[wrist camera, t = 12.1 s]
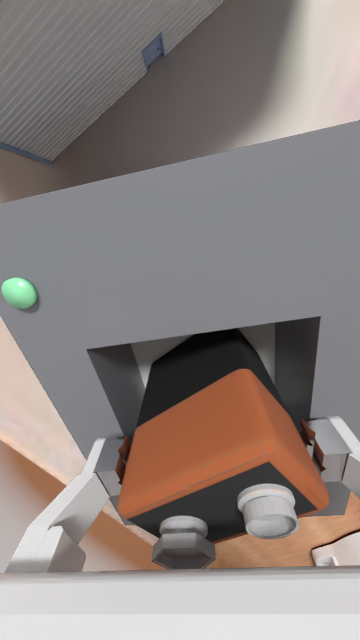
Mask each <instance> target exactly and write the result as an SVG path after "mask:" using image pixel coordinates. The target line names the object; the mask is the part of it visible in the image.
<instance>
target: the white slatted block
mask: <svg viewBox="0 0 360 640" xmlns="http://www.w3.org/2000/svg"><path fill="white" fill-rule="evenodd" d="M224 1H225V0H0V148H1V149H4V150H7V151H10V152H13V153H16V154H18V155H21V156H24V157H27V158H30V159H33V160H35V161H38V162H41V163H44V164H47V165H51V163H52V162H51V161H52V160H54V159H55V158H56V157H57V156H58V155H59V154H60V153H61V152H62V151H63V150H64V149H65V148H66V147H68V146H69V145H70V144H71V143H72V142H73V141H74V140H75V139H76V138H77V137H78V136H79V135H80V134H82V133H83V132H84V131H85V130H86V129H87V128H88V127H89V126H90V125H91V124H92V123H93V122H94V121H96V120H97V119H98V118H99V117H100V116H101V115H102V114H103V113H104V112H105V111H106V110H107V109H108V108H110V107H111V106H112V105H113V104H114V103H115V102H116V101H117V100H118V99H119V98H120V97H121V96H122V95H124V94H125V93H126V92H127V91H128V90H129V89H130V88H131V87H132V86H133V85H134V84H135V83H136V82H138V81H139V80H140V79H141V78H142V77H143V76H144V75H145V74H146V73H149V71H148V67H147V66H148V65H149V64H150V63H152V62H153V61H154V60H155V59H156V58H157V57H158V56H159V55H160V54H161V53H162V54H163V56H164V58H165V57H166V55H167V54H168V53H169V52H170V51H171V50H172V49H173V48H174V47H175V46H176V45H177V44H178V43H180V42H181V41H182V40H183V39H184V38H185V37H186V36H187V35H188V34H189V33H190V32H191V31H192V30H194V29H195V28H196V27H197V26H198V25H199V24H200V23H201V22H202V21H203V20H204V19H205V18H206V17H208V16H209V15H210V14H211V13H212V12H213V11H214V10H215V9H216V8H217V7H218V6H219V5H220V4H222V3H223V2H224Z"/></svg>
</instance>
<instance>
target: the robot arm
mask: <svg viewBox="0 0 360 640" xmlns="http://www.w3.org/2000/svg"><path fill="white" fill-rule="evenodd" d="M301 427H302V428H303V429H302V430H301V431H300V437H301V439H302V441H303V443H304V445H305V447H306V449H307V451H308V453H309V455H310V457H311V459H312V461H313V463H314V465H315V467H316V469H317V470H318V472H319V474H320V476H321V478H322V480H323V482H335V481H342V483H343V484H344V485H345V486H346V487H347V488H349V489H350V490H351V491H352V492H353V493H354V494H355V495H356V496H357V497H359V498H360V442H359V440H358V439H357V438H356V437H355V435H354V434H353V433H352V431H351V430H350V429H349V427H348V426H347V425H346V423H345V422H344V421H343V420H342V418H341V417H339V416H331V417H318V418H309V419H302V420H301ZM129 443H130V439H129V437H128V436H122V437H109V438H98V439H97V440H96V441H95V442H94V445H93V447H92V450H91V452H90V454H89V457H88V459H87V462H86V464H85V467H84V469H83V471H82V474H78V475H77V476H76V477H75V478H74V479H73V480H72V482H71V483H70V484H69V485H68V486H67V487H66V488H65V489H64V490H63V491H62V492H61V493H60V494H59V495H58V496H57V497H56V498H55V499H54V500H53V502H51V503H50V504H49V505H48V507H47V508H46V509H45V510H44V511H43V512H42V513H41V514H40V515H39V516H38V517H37V518H36V519H35V520H34V521H33V522H32V523H31V524H30V525H29V526H28V528H27V530H26V532H25V534H24V536H23V538H22V540H21V542H20V544H19V546H18V548H17V549H16V551H15V553H14V555H13V557H12V559H11V561H10V563H9V565H8V567H7V569H6V571H5V573H3V574H0V640H360V532H358V533H355V534H352V535H349V536H347V537H345V538H343V539H341V540H339V541H337V542H335V543H333V544H330V545H327V546H323V547H320V548H317V549H314V550H313V551H312V556H313V559H314V562H315V565H316V566H304V567H261V568H217V569H174V570H131V571H89V572H82V569H83V566H84V562H85V559H86V555H85V552H84V551H83V550H82V549H81V548H80V547H79V546H78V543H79V542H80V541H81V539H82V537H83V536H84V534H85V533H86V532H87V530H88V529H89V527H90V526H91V524H92V523H93V521H94V520H95V518H96V517H97V515H98V514H99V512H100V511H101V510H102V508H103V507H104V505H105V504H106V502H107V501H108V499H109V498H110V496H114V495H120V491H121V487H122V483H123V478H124V474H125V470H126V466H127V462H128V458H129V454H130V450H131V445H130V444H129Z"/></svg>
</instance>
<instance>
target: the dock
mask: <svg viewBox="0 0 360 640" xmlns="http://www.w3.org/2000/svg"><path fill="white" fill-rule="evenodd" d="M0 316H1V318H2V319H3V321H4V323H5V324H6V326H7V328H8V330H9V331H10V333H11V335H12V336H13V338H14V340H15V341H16V343H17V345H18V346H19V348H20V350H21V351H22V353H23V355H24V356H25V358H26V360H27V361H28V363H29V365H30V366H31V368H32V370H33V371H34V373H35V375H36V377H37V378H38V380H39V382H40V383H41V385H42V387H43V388H44V390H45V392H46V393H47V395H48V397H49V398H50V400H51V402H52V403H53V405H54V407H55V408H56V410H57V412H58V413H59V415H60V417H61V418H62V420H63V422H64V423H65V425H66V427H67V429H68V430H69V432H70V434H71V435H72V437H73V439H74V440H75V442H76V444H77V445H78V447H79V449H80V450H81V452H82V454H83V455H84V457H85V459H86V460H87V459H88V457H89V454H90V452H91V450H92V447H93V445H94V442H95V441H96V440H97V439H98V438H109V437H122V436H128V437H129V439H130V443H129V444H130V445H131V446H132V442H133V438H134V434H135V429H136V425H137V421H138V417H139V413H140V409H141V405H142V401H143V397H144V393H145V389H146V385H147V381H148V376H149V372H150V368H151V365H152V363H153V362H155V361H156V360H157V359H159V358H160V357H162V356H163V355H165V354H166V353H168V352H169V351H170V350H172V349H173V348H175V347H176V346H178V345H179V344H181V343H182V342H184V341H185V340H186V339H188V338H189V337H191V336H192V335H194V334H198V333H205V332H212V331H219V330H226V329H233V328H238V329H239V330H240V331H241V333H242V334H243V335H244V336H245V338H246V339H247V340H248V341H249V343H250V344H251V345H252V346H253V348H254V349H255V350H256V351H257V353H258V354H259V356H260V358H261V360H262V362H263V364H264V366H265V368H266V370H267V372H268V374H269V376H270V378H271V380H272V382H273V384H274V386H275V387H276V389H277V391H278V393H279V395H280V397H281V399H282V401H283V403H284V405H285V407H286V409H287V411H288V413H289V415H290V417H291V419H292V421H293V423H294V425H295V427H296V429H297V431H298V433H299V435H300V431H301V430H302V429H303V428H302V427H301V420H302V419H309V418H318V417H331V416H339V417H341V418H342V420H343V421H344V422H345V423H346V425H347V426H348V427H349V429H350V430H351V431H352V433H353V434H354V435H355V437H356V438H357V439H358V440H359V442H360V120H359V121H354V122H350V123H346V124H341V125H337V126H333V127H328V128H324V129H320V130H315V131H311V132H307V133H303V134H298V135H294V136H290V137H285V138H281V139H277V140H272V141H268V142H264V143H259V144H255V145H251V146H246V147H242V148H238V149H233V150H229V151H225V152H220V153H216V154H212V155H208V156H203V157H199V158H195V159H190V160H186V161H182V162H177V163H173V164H169V165H164V166H160V167H156V168H151V169H147V170H143V171H138V172H134V173H130V174H125V175H121V176H117V177H113V178H108V179H104V180H100V181H95V182H91V183H87V184H82V185H78V186H74V187H69V188H65V189H61V190H56V191H52V192H48V193H43V194H39V195H35V196H30V197H26V198H22V199H18V200H13V201H9V202H5V203H0ZM324 484H325V486H326V488H327V491H328V493H329V504H328V506H327V507H326V508H325V509H323V510H322V511H319V512H317V513H314V514H311V515H308V516H304V517H309V516H330V515H344V514H345V510H346V506H347V503H348V499H349V496H350V492H351V490H350V489H349V488H347V487H346V486H345V485H344V484H343V483H342V481H335V482H324ZM109 499H110V501H111V502H112V504H113V506H114V507H115V509H116V511H117V512H118V508H117V505H118V499H119V495H114V496H110V498H109ZM118 514H119V512H118ZM119 516H120V517H121V519H122V521H123V523H124V524H125V525H135V524H134V523H132V522H130V521H128V520H127V519H125V518H123V517H122V516H121V515H120V514H119Z"/></svg>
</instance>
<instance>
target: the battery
mask: <svg viewBox="0 0 360 640" xmlns="http://www.w3.org/2000/svg"><path fill="white" fill-rule="evenodd" d="M328 504H329V493H328V491H327V488H326V486H325V484H324V482H323V480H322V478H321V476H320V474H319V472H318V470H317V469H316V467H315V465H314V463H313V461H312V459H311V457H310V455H309V453H308V451H307V449H306V447H305V445H304V443H303V441H302V439H301V437H300V435H299V433H298V431H297V429H296V427H295V425H294V423H293V421H292V419H291V417H290V415H289V413H288V411H287V409H286V407H285V405H284V403H283V401H282V399H281V397H280V395H279V393H278V391H277V389H276V387H275V386H274V384H273V382H272V380H271V378H270V376H269V374H268V372H267V370H266V368H265V366H264V364H263V362H262V360H261V358H260V356H259V354H258V353H257V351H256V350H255V349H254V348H253V346H252V345H251V344H250V343H249V341H248V340H247V339H246V338H245V336H244V335H243V334H242V333H241V331H240V330H239V329H238V328H233V329H226V330H219V331H212V332H205V333H198V334H194V335H192V336H191V337H189V338H188V339H186V340H185V341H184V342H182V343H181V344H179V345H178V346H176V347H175V348H173V349H172V350H170V351H169V352H168V353H166V354H165V355H163V356H162V357H160V358H159V359H157V360H156V361H155V362H153V363H152V365H151V368H150V372H149V376H148V381H147V385H146V389H145V393H144V397H143V401H142V405H141V409H140V413H139V417H138V421H137V425H136V429H135V434H134V438H133V442H132V446H131V450H130V454H129V458H128V462H127V466H126V470H125V474H124V478H123V483H122V487H121V491H120V495H119V499H118V505H117V508H118V512H119V514H120V515H121V516H122V517H123V518H125V519H127V520H128V521H130V522H132V523H134V524H135V525H137V526H139V527H141V528H142V529H144V530H146V531H148V532H149V533H151V534H153V535H155V536H156V537H158V538H160V539H159V540H158V541H157V543H156V544H155V545H154V546H153V554H152V562H154V563H156V564H158V565H160V566H162V567H164V568H166V569H168V570H174V569H205V568H206V567H207V566H208V565H209V564H211V563H212V562H213V561H214V560H215V559H216V557H215V545H214V544H216V543H219V542H222V541H226V540H229V539H232V538H236V537H239V536H242V535H245V534H250V535H252V536H254V537H257V538H263V539H277V538H283V537H286V536H289V535H291V534H293V533H295V532H296V531H297V530H298V528H299V521H298V518H301V517H304V516H308V515H311V514H314V513H317V512H319V511H322V510H323V509H325V508H326V507H327V506H328Z"/></svg>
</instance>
